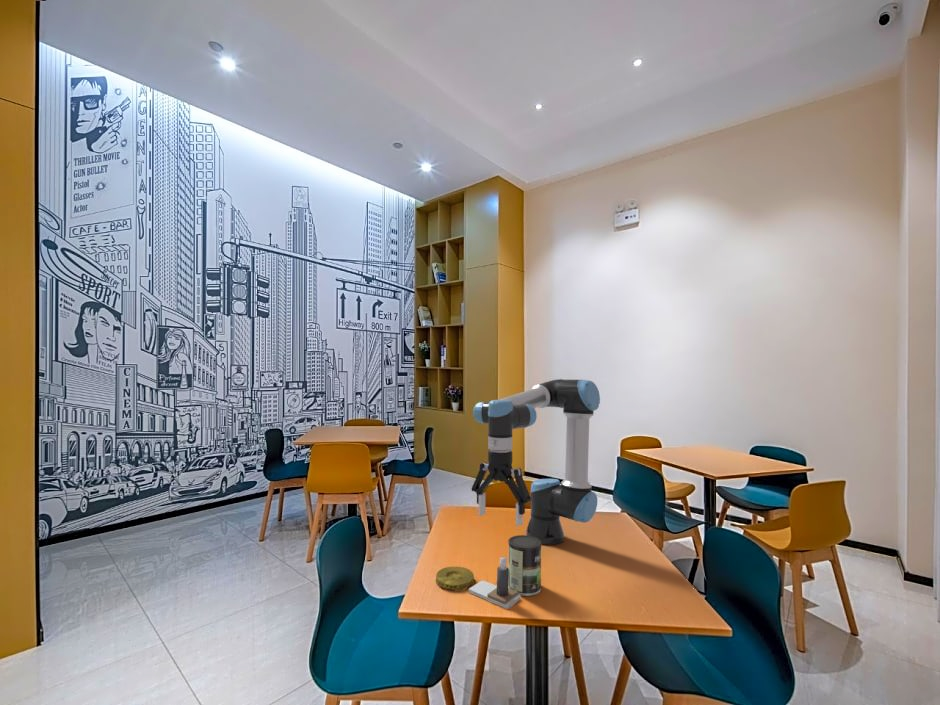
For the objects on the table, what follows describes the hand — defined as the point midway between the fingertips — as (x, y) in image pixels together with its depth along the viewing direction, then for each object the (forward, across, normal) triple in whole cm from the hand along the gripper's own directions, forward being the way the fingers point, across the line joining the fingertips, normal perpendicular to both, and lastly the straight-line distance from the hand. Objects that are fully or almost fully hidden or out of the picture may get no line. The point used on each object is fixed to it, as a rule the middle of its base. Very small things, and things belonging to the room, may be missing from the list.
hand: (499, 519), depth 126 cm
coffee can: (+22, +5, +7) cm, 23 cm away
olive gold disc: (+22, -14, -4) cm, 26 cm away
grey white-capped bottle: (+20, +3, -4) cm, 20 cm away
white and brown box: (+21, 0, -3) cm, 22 cm away
